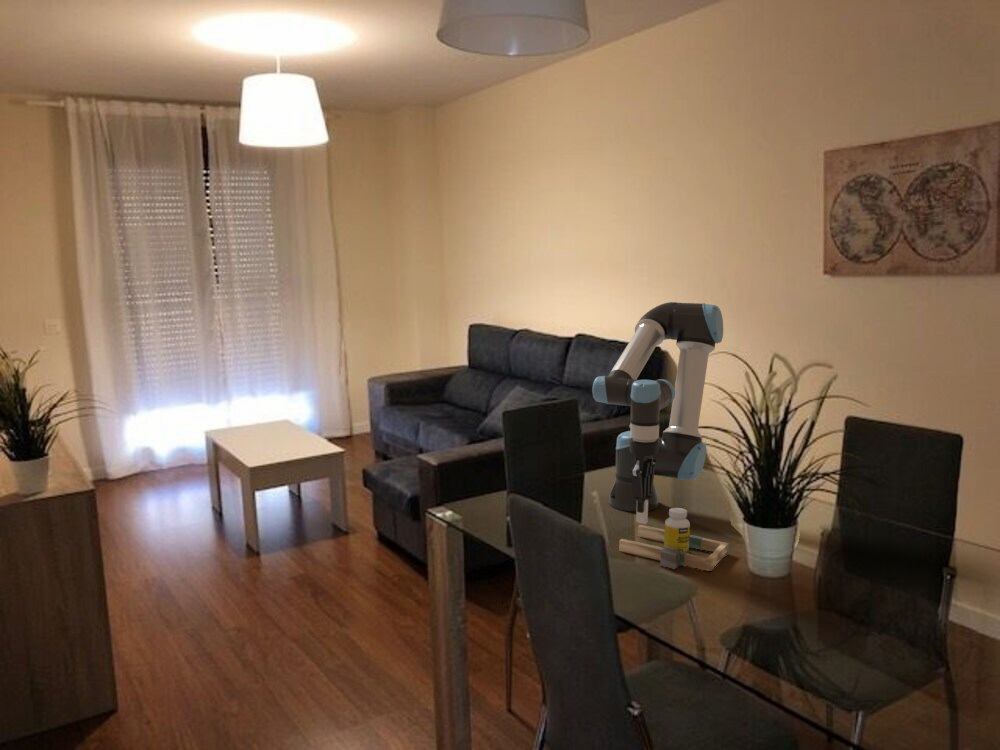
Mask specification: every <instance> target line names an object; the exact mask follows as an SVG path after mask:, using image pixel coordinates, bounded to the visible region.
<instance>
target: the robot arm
mask: <svg viewBox="0 0 1000 750" xmlns="http://www.w3.org/2000/svg"><path fill="white" fill-rule="evenodd" d="M723 319H724V318H723V313H722V311H721V309H720V307H719V306H718V305H716V304H709V303H705V302H703V303H701V302H699V303H697V302H696V303H695V302H694V303H693V302H691V303H690V302H676V301H675V302H673V301H669V302H665V303H662V304H659V305H656V306H655V307H653V308H652V309H650V310H649V311H647V312H646V313H645V314H644V315H642V316H641V317H640V319H639V320H638V322H637V323H636V325H635V327H634V334H633V336H632V337H631V339H630V340H629V342H628V344H627V345H626V347H625V348H624V350H623V351H622V353H621V354H620V355H619V358H618V359H617V361H616V363H615V364H614V366H613V368H612V369H611V370H610V372H609V373H608V375H607V376H606V375H601V376H597V377H595V379H593V380H594V381H593V384H592V388H591V389H592V390H591V392H592V398H593V399H594V401H595V402H598V403H603V404H606V405H616V406H627V407H630V424H628V427H629V428H630V430H627V431H624V432H621V433H620V434H618V436H617V437H616V446H615V475H614V476H615V479H614V482H613V485H612V488H611V490H610V493H609V495H608V496H609V498H608V504H609V505H610V506H611V507H613V508H615V509H617V510H621V511H625V512H634V513H635V512H636V515H635V516H636V517H635V523H638V524H641V525H646V524H648V522H649V521H648V517H649V516H648V515H649V511H652V510H655V509H657V508H658V506H659V496H658V493H657V490H656V485H655V483H654V478H655V476H656V477H661V478H669V479H675V480H679V481H682V480H683V481H695V480H696V479H697V478H698V477H699V476H700V474H701V473H702V470H703V468H704V465H705V462H706V456H707V445H706V444H705V443H704V442H702V440H703V436H701V434H700V433H699V423H700V417H701V409H702V403H703V397H704V396H703V395H704V389H705V384H706V376H707V368H708V361H709V355H710V353H712V352H713V351H715V348H716V344H717V345H718V344H720V343H721V342H722V341H723V338H724V320H723ZM665 340H673V341H675V340H676V342H675V346H676V347H678V349H679V356H678V364H677V369H676V370H677V371H676V376H675V377H676V378H675V383H674V384H672V383H671V382H670V381H669V380H667V379H663V378H662V379H661V378H660V379H655V380H652V379H638V378H639V376H640V374H641V372H642V371H643V369H644V368H645V366H646V364H647V362H648V361H649V359H650V358H651V355H652V354H653V353H654V351H655V348H656V347H657V346H659V345H661V344H662V343H663V341H665ZM670 404H671V412H670V417H669V423H668V424H669V425H668V427H667V428H665V430H663V431H662V436H661V437H660V411H661V410H663V409H665V408H666V407H669V406H670Z"/></svg>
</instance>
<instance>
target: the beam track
mask: <svg viewBox="0 0 1000 750" xmlns="http://www.w3.org/2000/svg"><path fill="white" fill-rule="evenodd" d="M664 534H665V528H664V529H663V528H659V527H653V526H649V525H646V524H639V525H638V526H637V537H639V538H642V539H643V538H644V539H648V540H653V541H657V542H662V543H664ZM618 545H619V546H618V549H619V550H618V551H619V552H622V553H627V554H629V555H630V554H631V555H635V556H639V557H643V558H648V559H652V560H656V561H660V563H659V565H660V567H661V566H663V567H662V568H665V567H671V568H674V569H675V568H676V567H678V566H679V565H680V566H681V565H685V566H684V567H686V566H689V567H688V568H690V567H696V568H701V569H702V568H703V569H709V570H711V569H712V568H714V566H716V564H717V563H718V562H719V561H720V560H721V559H722V557H723V556H724V555H725V553H726V552H727V551H728V552H729V542H728V543H727V542H724V541H722V540H721V541H720V540H719V541H718V540H714V539H711V538H707V537H702V536H699V535H693V534H690V536H689V549H693V548H696V549H695V550H697V549H701V550H700V551H702V550H708V551H714V552H713V553H710V554H709V555H708V557H705V556H701V555H698V554H693V553H689V552H688V553H686V552H682V551H678V550H673V549H669V548H664V547H661V546H657V545H652V544H649V543H643V542H638V541H635V540H630V539H626V538H620V539H619V544H618ZM680 566H679V567H680ZM679 567H678V568H679ZM716 567H717V566H716ZM714 569H715V568H714Z"/></svg>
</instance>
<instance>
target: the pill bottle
mask: <svg viewBox="0 0 1000 750" xmlns="http://www.w3.org/2000/svg"><path fill="white" fill-rule="evenodd" d="M668 516H669V517H668V518H666V519H665V520H664V530H665V534H664V542H663V548H669V549H673V550H678V551H682V552H686V553H688V554H689V551H690V548H689V536H690V535H691V534H690V533H691V529H690V528H691V523H690V521H689V520H688V519H687V517H688V510H686V509H685V508H681V507H671V508H669V510H668Z"/></svg>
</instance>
